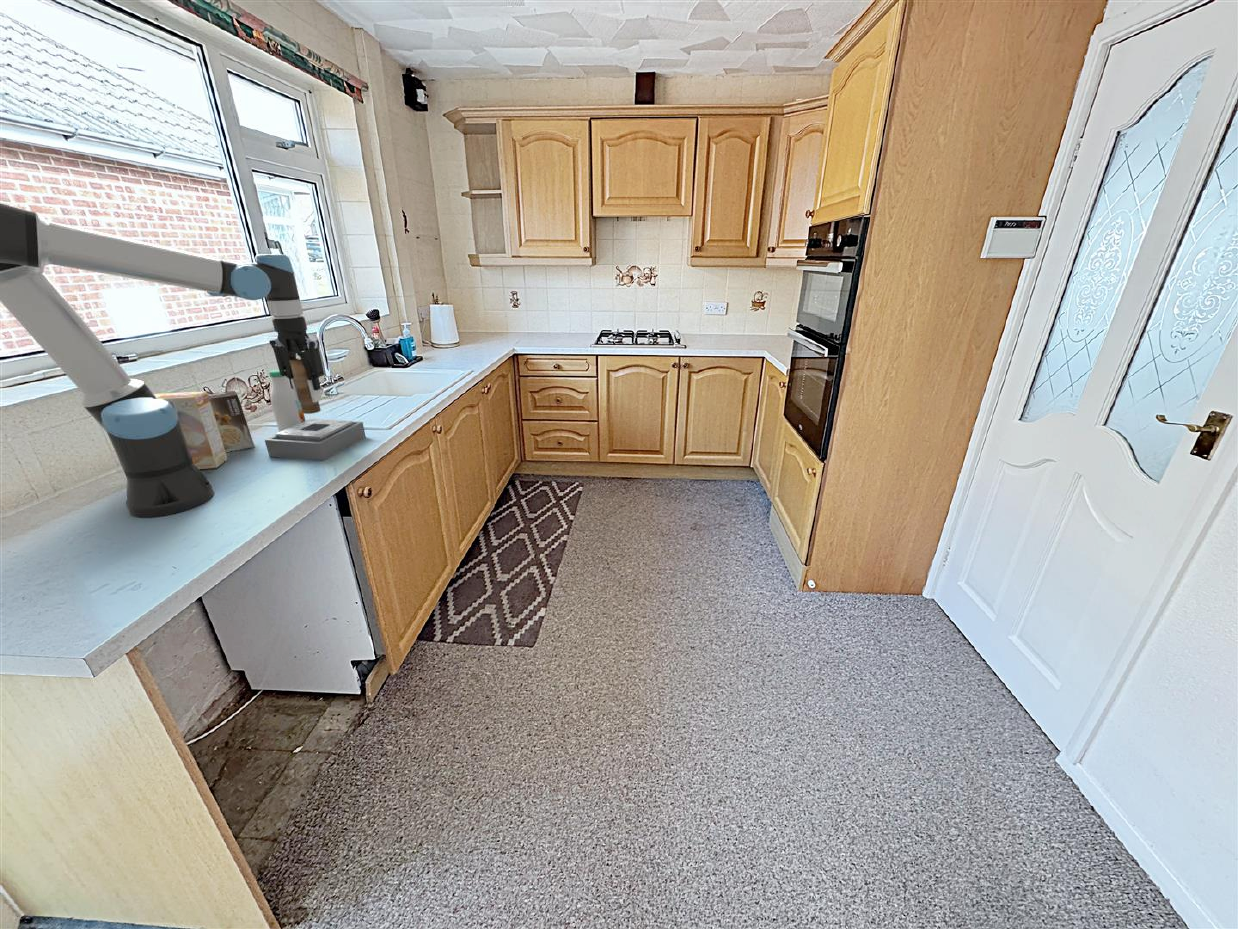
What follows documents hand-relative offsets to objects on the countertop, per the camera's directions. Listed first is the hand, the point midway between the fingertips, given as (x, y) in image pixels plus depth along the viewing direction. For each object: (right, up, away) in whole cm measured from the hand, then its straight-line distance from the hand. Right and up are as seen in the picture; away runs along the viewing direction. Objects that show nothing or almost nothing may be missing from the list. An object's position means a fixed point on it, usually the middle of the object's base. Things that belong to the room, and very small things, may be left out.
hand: (309, 400), depth 143 cm
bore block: (0, -13, +5) cm, 14 cm away
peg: (0, -3, +1) cm, 3 cm away
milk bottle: (-15, -8, +16) cm, 24 cm away
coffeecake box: (-26, -19, -9) cm, 34 cm away
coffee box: (-24, -14, +4) cm, 28 cm away
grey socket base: (0, -13, +5) cm, 14 cm away
